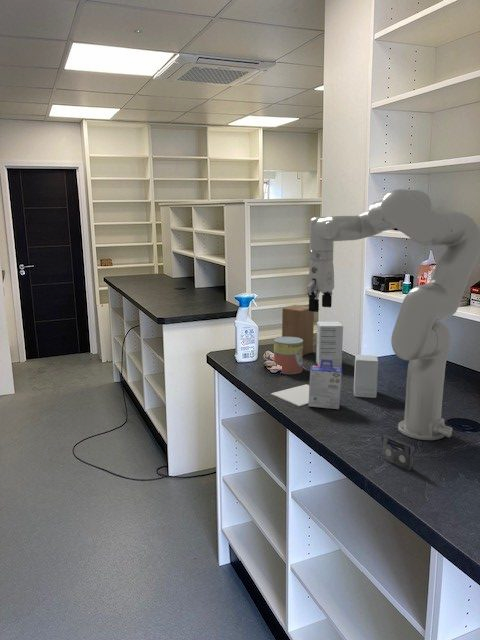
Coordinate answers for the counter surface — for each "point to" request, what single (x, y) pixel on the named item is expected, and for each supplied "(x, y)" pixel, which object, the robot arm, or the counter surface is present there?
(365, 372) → the supplement box
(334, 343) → the supplement box
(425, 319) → the robot arm
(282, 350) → the canned food
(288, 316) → the wooden block
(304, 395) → the mat
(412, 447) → the mini dv tape
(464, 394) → the counter surface
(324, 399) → the ink cartridge box
